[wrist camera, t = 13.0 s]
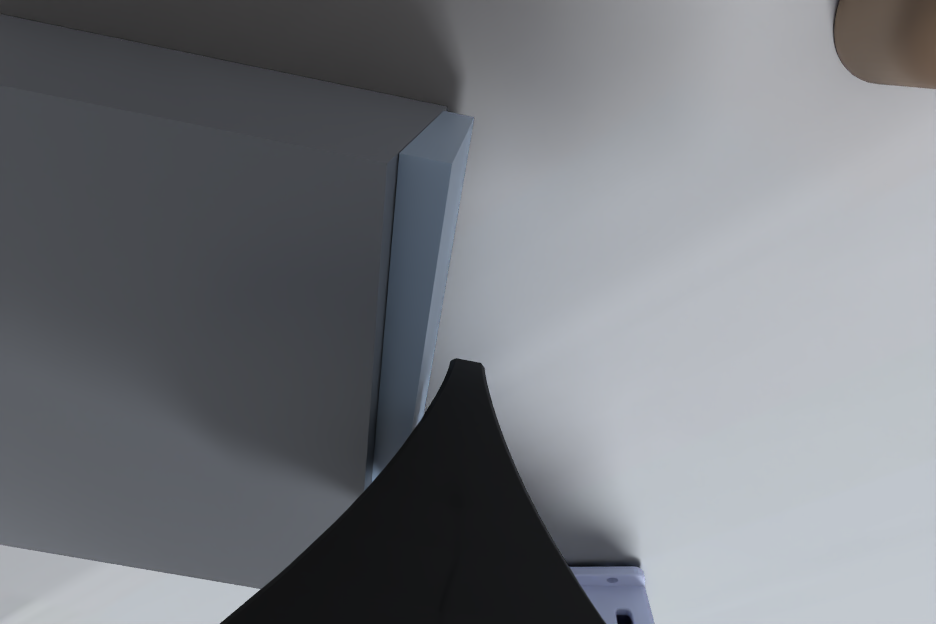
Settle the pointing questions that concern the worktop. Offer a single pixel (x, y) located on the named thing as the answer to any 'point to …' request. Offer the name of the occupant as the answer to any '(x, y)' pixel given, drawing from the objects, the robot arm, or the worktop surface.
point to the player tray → (418, 274)
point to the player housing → (187, 301)
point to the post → (888, 41)
